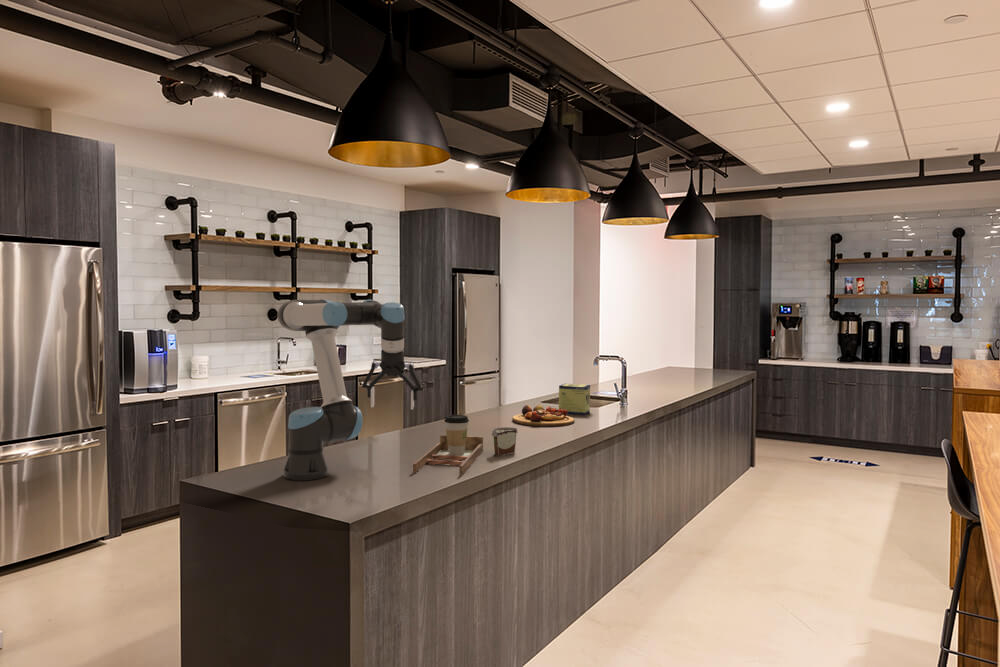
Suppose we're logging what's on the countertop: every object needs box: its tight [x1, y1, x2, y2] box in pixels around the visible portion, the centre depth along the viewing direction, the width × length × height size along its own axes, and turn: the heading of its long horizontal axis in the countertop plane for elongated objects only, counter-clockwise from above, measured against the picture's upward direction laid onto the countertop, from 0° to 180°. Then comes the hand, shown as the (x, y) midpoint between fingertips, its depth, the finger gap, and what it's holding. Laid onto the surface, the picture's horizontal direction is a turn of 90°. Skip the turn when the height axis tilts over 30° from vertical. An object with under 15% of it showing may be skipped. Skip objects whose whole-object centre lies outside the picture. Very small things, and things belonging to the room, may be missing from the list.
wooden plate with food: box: [511, 404, 575, 428], centre depth 351 cm, size 32×32×8 cm
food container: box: [491, 426, 518, 457], centre depth 277 cm, size 12×6×10 cm, turn 134°
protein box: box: [558, 383, 591, 416], centre depth 378 cm, size 10×16×16 cm
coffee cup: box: [443, 414, 470, 455], centre depth 273 cm, size 10×10×15 cm
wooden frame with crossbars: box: [412, 434, 484, 477], centre depth 262 cm, size 18×40×6 cm, turn 171°
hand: (392, 407), depth 233 cm, fingers open, 13 cm apart
